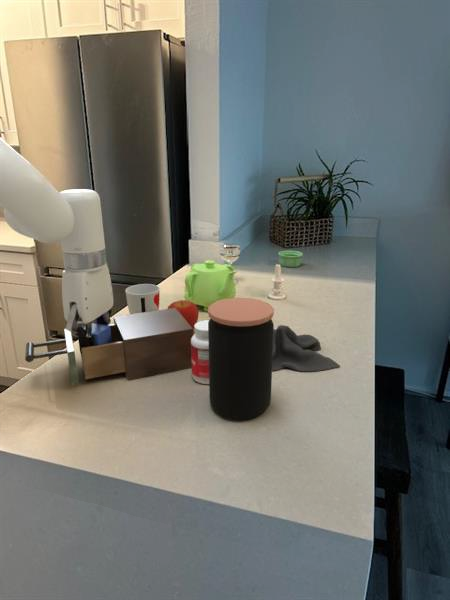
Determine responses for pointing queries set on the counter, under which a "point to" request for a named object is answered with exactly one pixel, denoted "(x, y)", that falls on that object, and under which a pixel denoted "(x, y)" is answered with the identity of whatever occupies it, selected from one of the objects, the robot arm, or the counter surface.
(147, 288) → the cup
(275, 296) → the cream tower figurine
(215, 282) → the teapot
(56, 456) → the counter surface
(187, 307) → the apple
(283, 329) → the cloth
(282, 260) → the ramekin
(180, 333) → the cabinet
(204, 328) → the pill bottle
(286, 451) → the counter surface
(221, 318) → the coffee jar
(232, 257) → the wineglass
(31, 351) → the brown drawer with handle
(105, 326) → the matte blue cube
